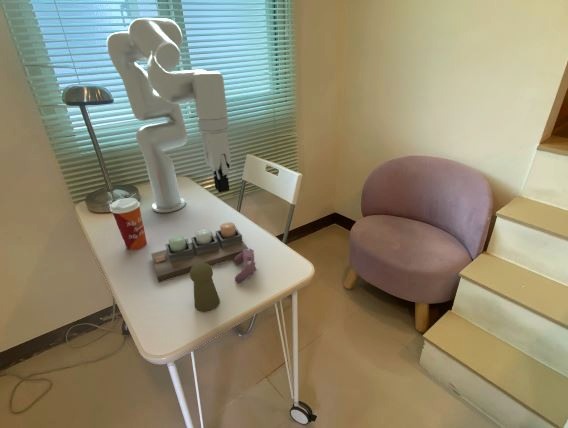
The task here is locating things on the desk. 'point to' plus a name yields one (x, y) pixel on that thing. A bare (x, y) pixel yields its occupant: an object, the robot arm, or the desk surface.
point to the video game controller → (245, 264)
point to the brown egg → (227, 230)
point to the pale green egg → (177, 244)
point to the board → (196, 255)
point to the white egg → (203, 236)
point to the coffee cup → (129, 222)
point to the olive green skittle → (204, 288)
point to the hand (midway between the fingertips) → (222, 189)
